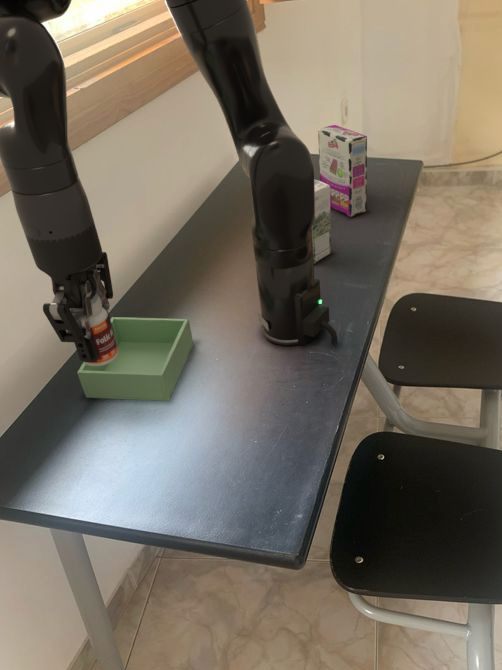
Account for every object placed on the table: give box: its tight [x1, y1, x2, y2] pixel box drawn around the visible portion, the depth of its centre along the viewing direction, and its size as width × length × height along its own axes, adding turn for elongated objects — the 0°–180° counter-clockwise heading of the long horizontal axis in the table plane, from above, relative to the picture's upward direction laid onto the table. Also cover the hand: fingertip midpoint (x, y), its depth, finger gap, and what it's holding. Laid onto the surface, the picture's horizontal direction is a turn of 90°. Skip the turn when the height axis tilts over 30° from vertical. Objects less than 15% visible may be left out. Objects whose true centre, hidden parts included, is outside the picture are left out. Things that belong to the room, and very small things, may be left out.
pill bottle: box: [72, 294, 118, 366], centre depth 83 cm, size 5×5×8 cm
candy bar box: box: [317, 124, 368, 218], centre depth 144 cm, size 11×5×16 cm, turn 37°
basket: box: [76, 316, 194, 402], centre depth 105 cm, size 13×15×5 cm
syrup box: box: [312, 179, 332, 265], centre depth 128 cm, size 6×6×14 cm
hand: (98, 347), depth 85 cm, fingers closed on pill bottle, 4 cm apart
